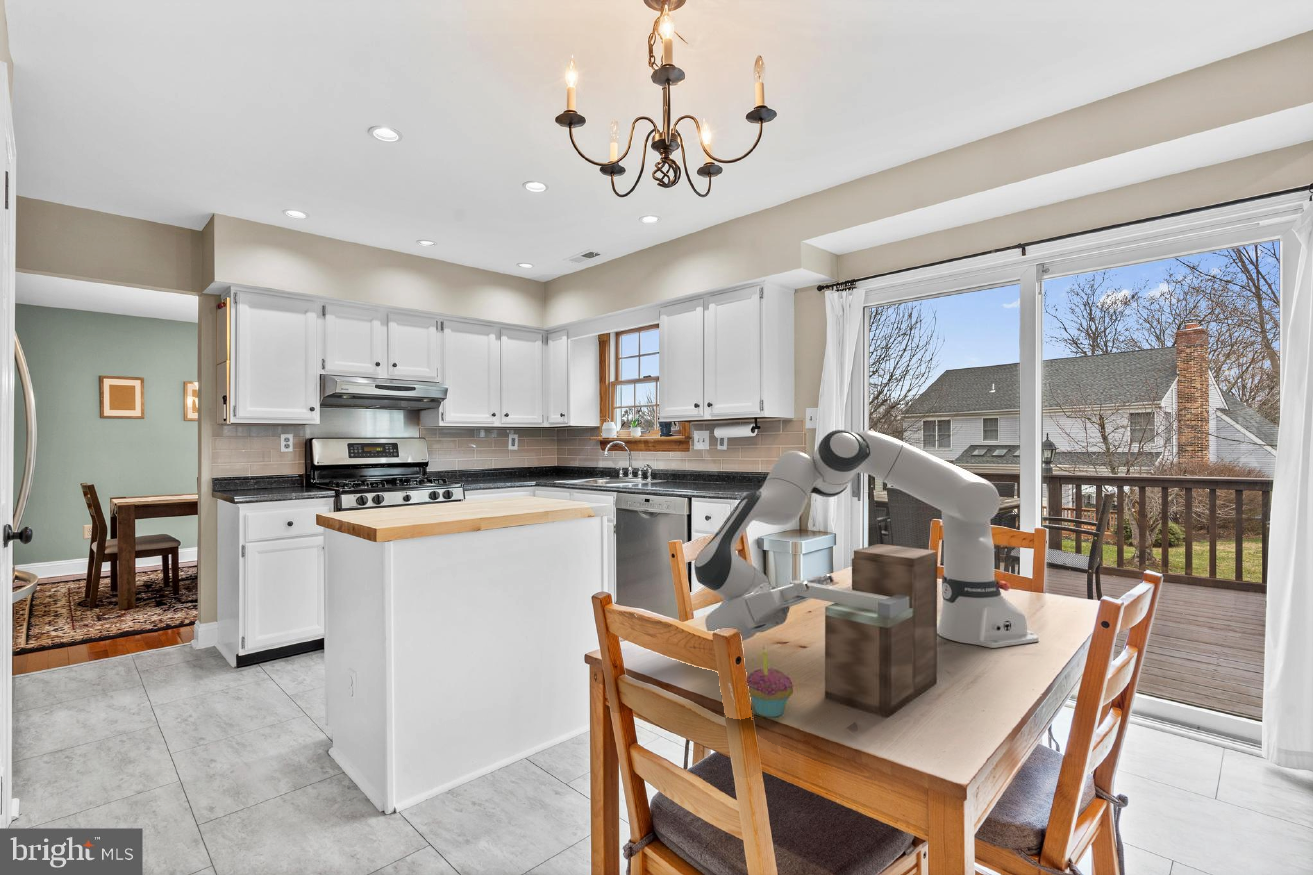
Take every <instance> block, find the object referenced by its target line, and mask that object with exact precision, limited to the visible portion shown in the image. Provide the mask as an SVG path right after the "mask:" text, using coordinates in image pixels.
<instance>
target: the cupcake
mask: <svg viewBox="0 0 1313 875" xmlns="http://www.w3.org/2000/svg"><path fill="white" fill-rule="evenodd" d="M762 648H763V650H762V664H763V669H759V670H758V669H757V670H755V671H753V672H751V673H750V674H749V675H747V676H746V678H747V683H748V686H749V693H750V695H749V696H750V697H751V699H752V702H753V706H754V709H755V710H754V711H755V712H756V714H758V715H760V716H762V717H766V718H767V717H768V718H769V717H770V718H775V717H779V716H781V715H782V714H783V713H784V710H785V706H786V704H787V701H788V700H789V698H790V697H791V696H792V695H793V694H794V683H793V681H792V679H791V678H790V677H789V675H786V674H784V672H782V671H779V670H778V669H774V668H768V659H767V658H768V656H767V650H766V648H765V646H763V647H762Z"/></svg>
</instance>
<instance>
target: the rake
mask: <svg viewBox="0 0 1313 875" xmlns="http://www.w3.org/2000/svg"><path fill="white" fill-rule="evenodd" d="M801 582H804V581H802V580H798V579H795V580H792V581H789V584H794V585H797V584H799V583H801ZM807 585H808V586H809V590H808V591H806V592H804V593H801V594H799V595H797V596H803V597H808V598H812V599H814V600H819V601H822V602H829V603H832V604H834V603H838V604H843V605H848V606H854V607H859V608H864V609H869V610H874V611H878V616H882V617H887V618H891V617H894V616H896V615H898V614H900V613H902V612H905V611H907V610H909V596H905V595H899V594H897V595H894V596H892V597H889V596H883V595H877V594H872V593H866V592H861V591H855V590H852V589H848V588H842V587H839V586H831V585H821V584H816V583H810V582H807Z"/></svg>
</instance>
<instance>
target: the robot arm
mask: <svg viewBox="0 0 1313 875" xmlns="http://www.w3.org/2000/svg"><path fill="white" fill-rule="evenodd" d="M858 473H859V474H861V473H862V474H867V475H870V476H872V477H873V478H876V479H877V480H879V481H881V482H883V483H885V484H887V485H889V486H891V487H894V488H895V489H897V490H900V491H901V492H903V493H906V494H908V495H910V496H912V497H913V498H916V499H918V500H920V501H921V502H923V503H926V504H927V505H929V506H931V507H934V508H936V509H938V510H940V511H941V523H942V524H941V525H942V535H943V536H942V537H943V574H942V575H941V596H942V604H941V605H942V606H941V612H940V616H939V617H940V618H939V621H938V624H937V635H938V636H940V637H941V638H944V639H947V640H951V641H954V642H958V643H963V644H970V645H976V646H981V647H986V648H992V649H996V648H1002V647H1009V646H1016V645H1023V644H1029V643H1036V642H1039V641H1040V640H1039V636H1038V635H1037V634H1036V633H1035V632H1033V631H1031V630H1029V629H1028V623H1027V618H1026V615H1025V614H1024V612H1023V611H1022V609H1020V608H1018V607H1017V606H1016V605H1015V604H1013V603H1012V602H1011V601H1009V599H1007V598H1006V597H1005V596H1004V595H1002V592H1001V590H1003V591H1005V592H1008V591H1010V589H1011V584H1010V582H1007V581H1004V580H1000V581H999V580H997V579H996V578H995V545H994V540H993V534H992V525H991V520H992V519H993V518H994V517H995V516H996V515H997V513H999V510H1000V507H1001V498H1000V494H999V491H998V488H996V486H995V485H994V484H993V483H992V482H990V481H989V480H987V479H985V478H983V477H981V476H979V475H976V474H974V473H973V472H971V471H969V470H965V469H963V468H961V467H959V466H956V465H954V464H952V463H950V462H948V461H945V460H943V459H941V458H939V457H937V456H934V455H932V454H930V453H928V452H926V451H923V450H922V449H920V448H917V447H915V446H914V445H913V446H912V445H911V444H909V443H906V442H904V441H902V440H900V439H898V438H896V437H892V436H891V435H887V434H884V433H880V432H877V431H874V430H870V429H869V430H868V429H867V430H861V431H860V432H859V433H858V432H853V431H850V430H846V429H835V430H831V431H830V432H828V433H827V434H826V435H825V436H823V438H822V439H821V440H820V442H819V444H818V446H817V447H816V449H815V451H814V453H812V454H806V453H805V452H802V451H800V450H799V451H798V450H788V451H786V452H784V453H782V455H781V456H780V457H779V458H778V459H777V461H776V462H775V463H774V465H773V467H772V468H771V470H770V472H769V473H768V475H767V476H766V479H765V481H764V483H763V485H762V486H761V487H760V489H759V490H752V491H748V492H747V494H745V495H744V496H743V497H742V498H741V499H740V500H739V501H738V503H736V505H735V507H733V509H732V511H731V512H730V514H729V515H728V516H727V517H726V519H725V521H724V522H723V523H722V525H721V526H720V527H719V529H718V530H717V531H716V533H715V534H714V535H713V537H712V538H711V539H710V541H709V542H708V543H707V544H706V545H705V546H704V547H703V549H702V550H701V551H699V553H698V555H697V556H696V557H695V560H694V564H693V565H694V574H695V578H696V580H697V582H698V583H699V584H701V585H702V586H704V587H706V588H707V589H709V590H711V591H713V592H714V593H716V594H717V595H718V596H720V597H722V602H721V603H720V605H718V607H716V608H715V609H714V610H712V611H711V612H710V613H708V615H707V616H706V617H705V620H704V621H705V622H704V623H705V628H706V631H707V632H708V631H715V630H717V629H722V628H733V629H737V630H738V631H740V634H741V636H742V642H745V641H746V640H749V639H752V638H753V637H754V636H756V634H757V633H764V632H767V631H769V630H772V629H774V628H777V627H779V626H780V625H783V624H784V623H786V621H787V619H788V615H789V612H790V608H791V607H793V606H796V605H799V604H802V603H805V602H807V601H809V600H811V599H813V598H808V597H803V596H797V595H799V594H801V593H804V592H806V591H808V590H809V586H808V585H807V582H810V583H816V584H821V585H827V586H830V584H833V583H834V582H835V579H834V577H833V575H832V573H828V574H826V575H823V576H821V575H817V576H813V577H809V578H806V579H803V580H801V581H804V582H801V583H799V584H797V585H794V584H790V583H789V584H787V585H782V586H780V587H779V586H777V585H773V584H771V582H770V580H769V578H768V577H767V576H766V575H765V574H764V573H763V572H762V571H760V570H759V569H758V568H757V567H755V566H754V565H753V564H750V563H749V561H747V560H746V559H744V558H743V557H741V556H740V555H739V554H738V553H737V552H736V544H737V543H738V542H739V540H740V539H741V537H742V536H743V535H744V533H745V532H746V531H747V528H748V527H749V526H750V524H751V523H752V522H753V521H755V522H759V523H764V524H767V525H772V526H787V525H790V524H792V523H794V522H795V521H797V520H798V519H799V518H800V517H801V515H802V514H803V512H804V510H805V507H806V505H807V502H808V500H809V498H810V495H811V494H815V495H817V496H820V497H824V498H834V497H837V496H839V495H840V494H842V493H843V492H844V491H845V490H846V489H847V488H848V486H849V484H851V482H852V481H853V480H854V478H855V476H856V475H857V474H858Z"/></svg>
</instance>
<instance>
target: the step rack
mask: <svg viewBox="0 0 1313 875" xmlns="http://www.w3.org/2000/svg"><path fill="white" fill-rule="evenodd" d="M851 590H855V591H861V592H866V593H872V594H877V595H883V596H889V597H892V596H894V595H897V594H899V595H905V596H909V610H907V611H905V612H902V613H900V614H898V615H896V616H894V617H891V618H887V617H882V616H878V611H874V610H869V609H864V608H859V607H854V606H848V605H843V604H838V603H831V604H829V605H826V606H824V619H825V620H824V699H826V700H829V701H832V702H835V703H838V704H842V705H844V706H848V707H852V708H855V709H858V710H861V711H865V712H867V713H871V714H873V715H877V716H881V717H884V718H886V719H888V718H889V717H891V716H893V715H894V714H895V713H896V712H899V710H901V709H903V707H905V706H907V705H908V704H909V703H910V702H912V701H913V699H914V700H915V699H917V698H919V697H920V696H921V695H923V693H925V692H927V691H928V690H930V689H931V688H932V687H933V686H935V685H937V684H938V682H937V681H938V678H937V676H938V673H937V672H938V669H937V668H938V665H937V664H938V661H937V660H938V634H937V628H938V550H930V549H925V548H916V547H909V546H908V547H907V546H900V545H891V544H884V543H883V544H881V543H876V544H874V545H870V546H867V547H862V548H858V549H855V550H853V558H851Z"/></svg>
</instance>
